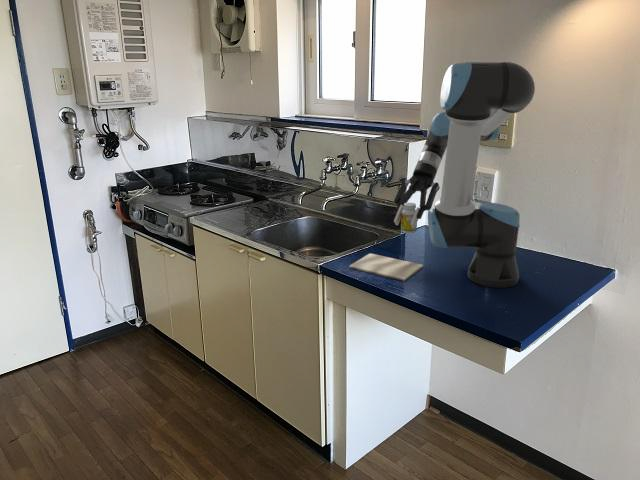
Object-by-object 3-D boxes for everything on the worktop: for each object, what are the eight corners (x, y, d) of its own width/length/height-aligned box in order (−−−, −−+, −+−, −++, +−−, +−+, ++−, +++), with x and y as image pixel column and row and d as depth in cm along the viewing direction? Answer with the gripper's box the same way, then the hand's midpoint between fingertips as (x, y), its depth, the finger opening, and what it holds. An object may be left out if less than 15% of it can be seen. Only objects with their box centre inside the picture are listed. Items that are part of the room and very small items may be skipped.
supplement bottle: (417, 233, 173) (418, 206, 170) (401, 233, 174) (402, 206, 171) (415, 229, 178) (417, 202, 175) (400, 228, 179) (401, 201, 176)
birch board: (422, 266, 171) (423, 264, 171) (404, 280, 160) (404, 279, 160) (369, 254, 182) (369, 253, 181) (349, 267, 171) (349, 265, 171)
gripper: (454, 176, 178) (432, 234, 170) (405, 171, 188) (383, 226, 180) (449, 163, 172) (427, 223, 164) (399, 159, 182) (376, 214, 174)
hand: (404, 224), depth 172 cm, fingers closed on supplement bottle, 5 cm apart
